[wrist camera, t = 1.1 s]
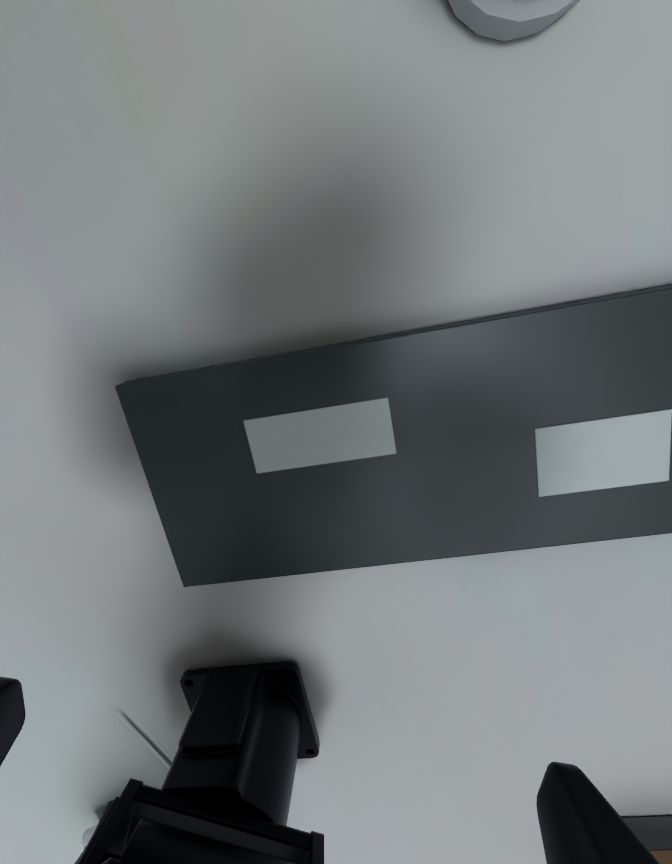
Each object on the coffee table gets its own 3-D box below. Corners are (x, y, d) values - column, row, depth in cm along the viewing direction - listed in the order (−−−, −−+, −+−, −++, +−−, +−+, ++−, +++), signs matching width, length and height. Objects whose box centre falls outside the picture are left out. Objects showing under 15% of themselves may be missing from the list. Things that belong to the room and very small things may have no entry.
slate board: (765, 508, 19) (786, 521, 18) (191, 574, 23) (182, 588, 22) (794, 262, 16) (821, 261, 15) (126, 381, 20) (113, 386, 19)
